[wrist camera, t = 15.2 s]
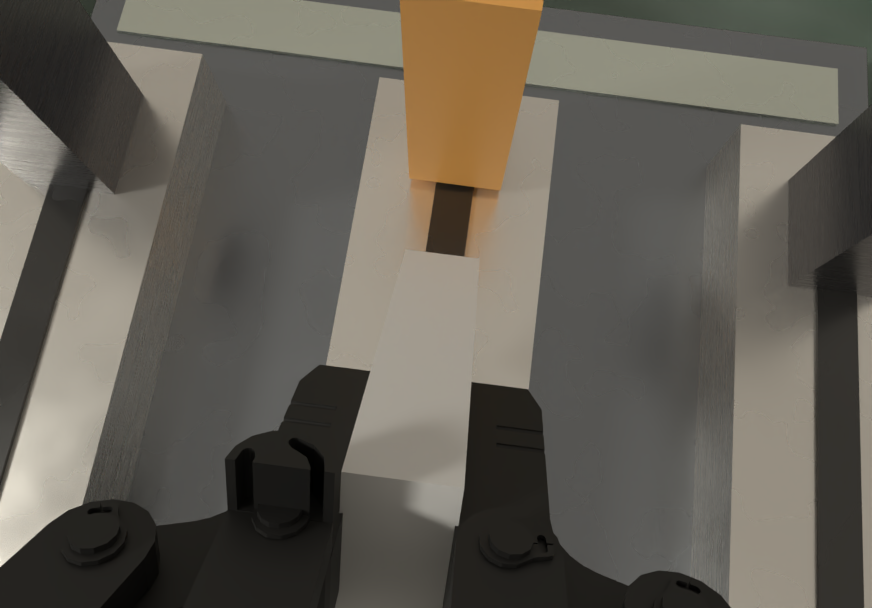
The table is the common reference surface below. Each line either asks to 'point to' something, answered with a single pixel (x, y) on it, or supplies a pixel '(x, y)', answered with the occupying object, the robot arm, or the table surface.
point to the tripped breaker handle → (464, 85)
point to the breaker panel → (453, 235)
